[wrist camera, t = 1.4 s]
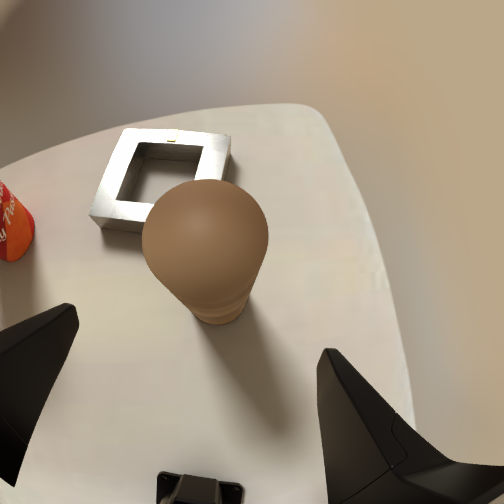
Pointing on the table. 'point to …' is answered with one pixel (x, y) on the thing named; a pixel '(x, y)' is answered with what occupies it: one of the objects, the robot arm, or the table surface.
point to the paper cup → (14, 226)
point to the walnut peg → (206, 246)
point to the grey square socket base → (129, 164)
